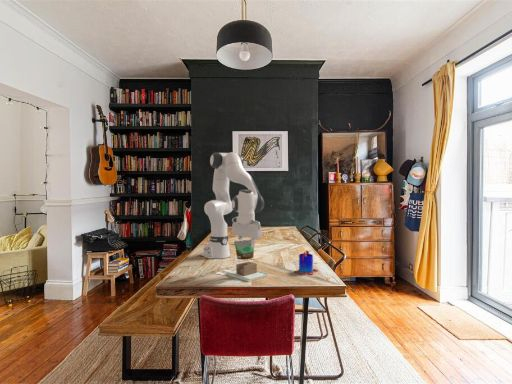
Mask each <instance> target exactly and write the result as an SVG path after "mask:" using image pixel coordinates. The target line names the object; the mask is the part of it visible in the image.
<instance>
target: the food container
mask: <svg viewBox="0 0 512 384" xmlns="http://www.w3.org/2000/svg"><path fill="white" fill-rule="evenodd" d="M251 241H252V240H251V239H243V241H240V240H234V242H233V245H234V247H235V252H236V253H235V254H236V259H237V260H242V261H243V260H250V259H253V258H254V251H255V250H254V247H255V245H254V246H250V243H251ZM255 243H256V241H255V242H254V244H255Z"/></svg>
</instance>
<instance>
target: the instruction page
mask: <svg viewBox="0 0 512 384" xmlns="http://www.w3.org/2000/svg"><path fill="white" fill-rule="evenodd" d="M230 271H232V270H231V269H223V270H220V271H217V272H214V274H216V275H221V276H225V275H226V272H230Z"/></svg>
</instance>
